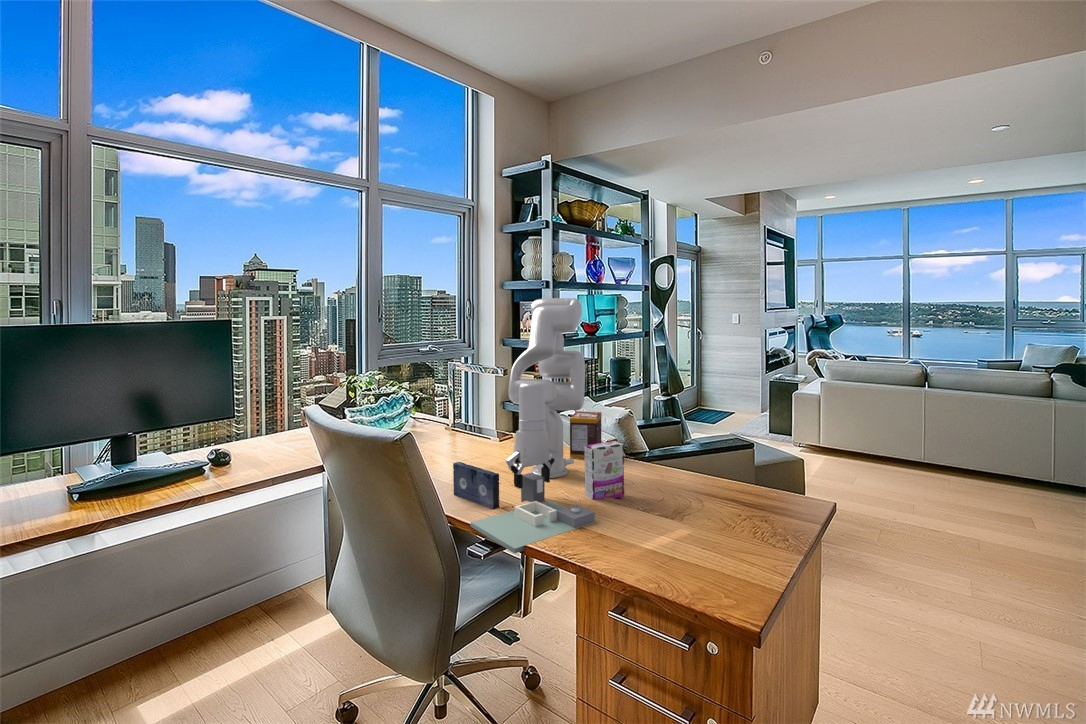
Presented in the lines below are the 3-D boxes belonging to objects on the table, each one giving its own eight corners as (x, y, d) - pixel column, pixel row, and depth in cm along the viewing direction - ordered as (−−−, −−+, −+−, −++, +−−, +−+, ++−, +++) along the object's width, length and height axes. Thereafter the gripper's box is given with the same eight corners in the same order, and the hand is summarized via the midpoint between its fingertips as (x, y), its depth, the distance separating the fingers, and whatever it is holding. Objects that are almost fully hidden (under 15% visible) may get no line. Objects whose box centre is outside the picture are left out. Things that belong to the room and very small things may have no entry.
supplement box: (601, 449, 217) (601, 411, 216) (596, 459, 202) (596, 418, 201) (576, 448, 220) (576, 410, 218) (569, 458, 205) (569, 417, 203)
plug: (532, 498, 160) (532, 472, 160) (546, 505, 155) (545, 478, 154) (521, 501, 158) (520, 475, 157) (534, 508, 153) (534, 480, 152)
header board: (549, 504, 155) (549, 492, 155) (597, 525, 140) (597, 512, 139) (470, 526, 140) (470, 512, 139) (514, 553, 124) (514, 538, 124)
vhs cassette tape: (500, 507, 154) (499, 473, 153) (492, 510, 151) (491, 475, 151) (461, 492, 166) (460, 461, 166) (453, 495, 164) (452, 463, 163)
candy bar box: (614, 492, 165) (615, 440, 164) (624, 497, 161) (625, 443, 159) (583, 498, 160) (583, 444, 159) (592, 504, 156) (593, 448, 154)
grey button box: (576, 513, 145) (576, 502, 145) (594, 521, 140) (594, 510, 139) (556, 519, 141) (556, 508, 141) (574, 528, 135) (574, 516, 135)
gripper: (547, 420, 163) (547, 476, 164) (499, 426, 152) (499, 486, 153) (563, 424, 157) (563, 482, 158) (514, 430, 146) (514, 493, 147)
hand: (532, 484), depth 156 cm, fingers open, 9 cm apart
